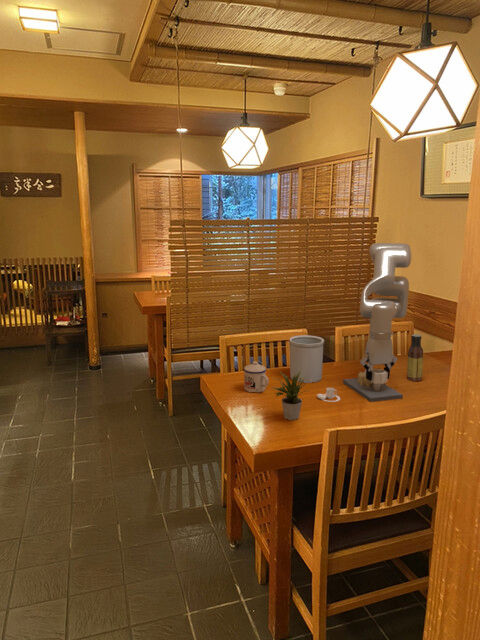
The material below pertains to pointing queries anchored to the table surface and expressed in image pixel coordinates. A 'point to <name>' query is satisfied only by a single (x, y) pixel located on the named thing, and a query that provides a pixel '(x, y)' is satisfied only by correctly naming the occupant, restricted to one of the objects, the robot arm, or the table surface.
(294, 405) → the house plant
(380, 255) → the robot arm
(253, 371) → the teacup with lid
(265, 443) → the table surface
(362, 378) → the gear board
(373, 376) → the gear
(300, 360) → the utensil holder
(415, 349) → the sauce bottle
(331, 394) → the teacup and saucer
